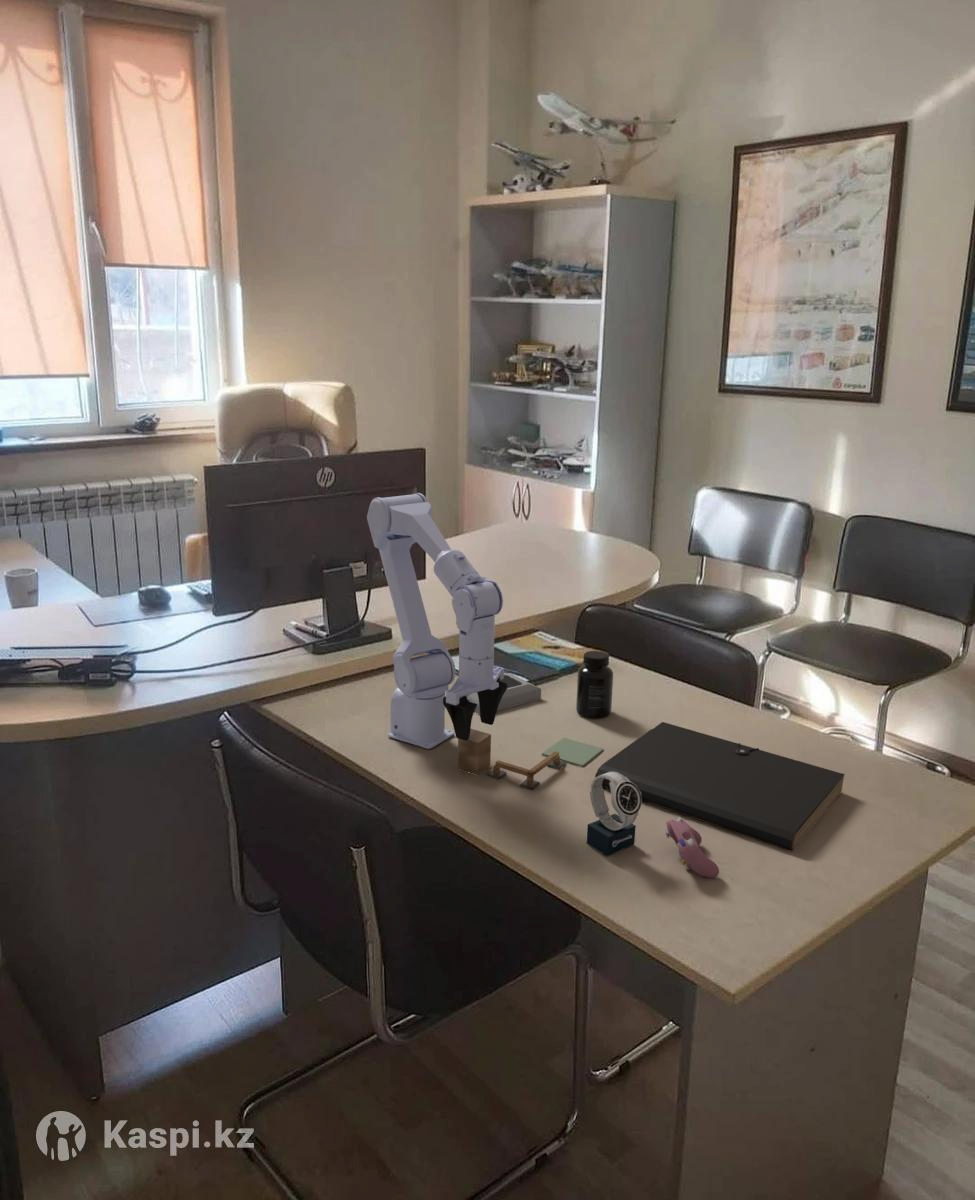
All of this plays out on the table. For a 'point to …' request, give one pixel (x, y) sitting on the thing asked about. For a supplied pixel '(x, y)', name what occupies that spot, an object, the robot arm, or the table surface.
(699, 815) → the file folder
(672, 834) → the pink curved piece
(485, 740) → the block
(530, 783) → the brown angled rail
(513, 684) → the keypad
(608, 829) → the watch
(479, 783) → the table surface
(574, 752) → the mat
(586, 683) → the supplement bottle
